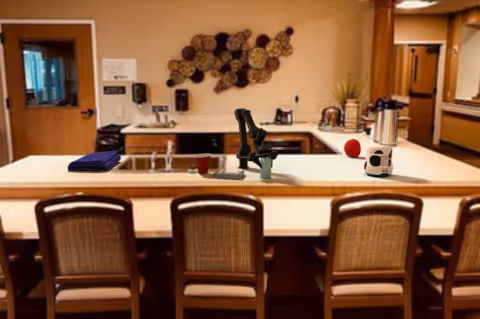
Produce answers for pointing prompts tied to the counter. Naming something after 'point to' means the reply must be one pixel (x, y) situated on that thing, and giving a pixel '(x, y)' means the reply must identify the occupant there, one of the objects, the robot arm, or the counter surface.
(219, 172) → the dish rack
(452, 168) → the counter surface
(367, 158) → the milk container
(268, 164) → the pale green upright block
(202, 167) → the plastic cup
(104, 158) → the towel
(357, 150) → the tomato
